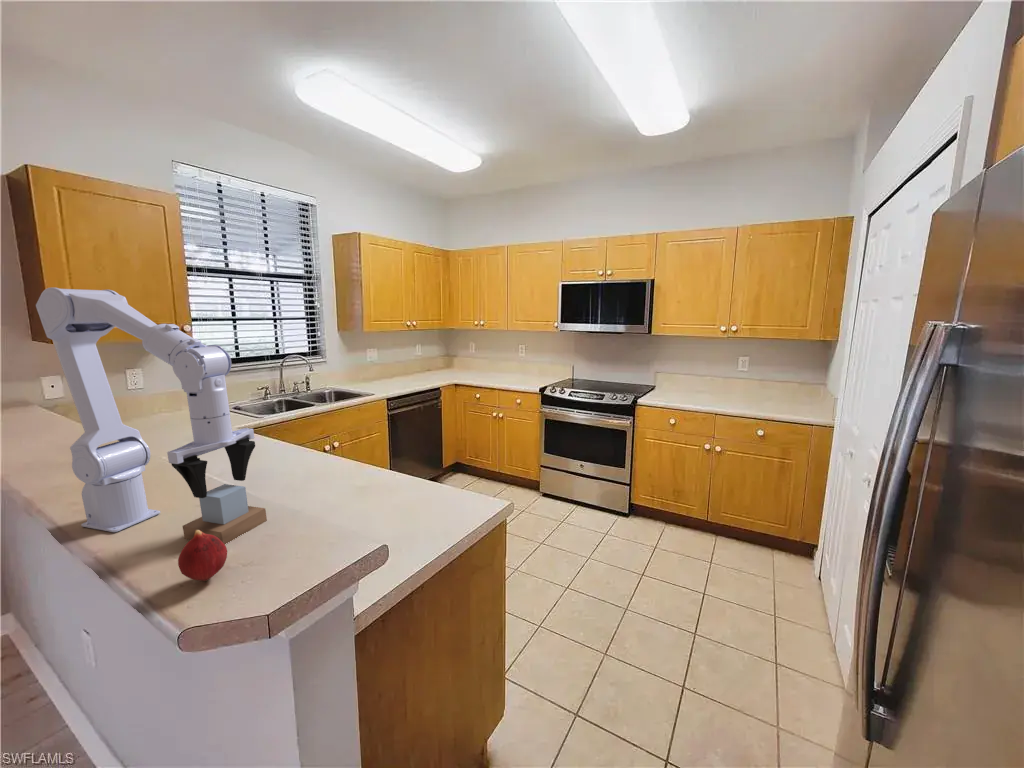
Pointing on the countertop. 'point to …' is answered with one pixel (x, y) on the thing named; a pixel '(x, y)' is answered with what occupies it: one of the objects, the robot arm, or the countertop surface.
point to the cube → (224, 504)
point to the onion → (202, 556)
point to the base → (227, 525)
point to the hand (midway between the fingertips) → (221, 488)
